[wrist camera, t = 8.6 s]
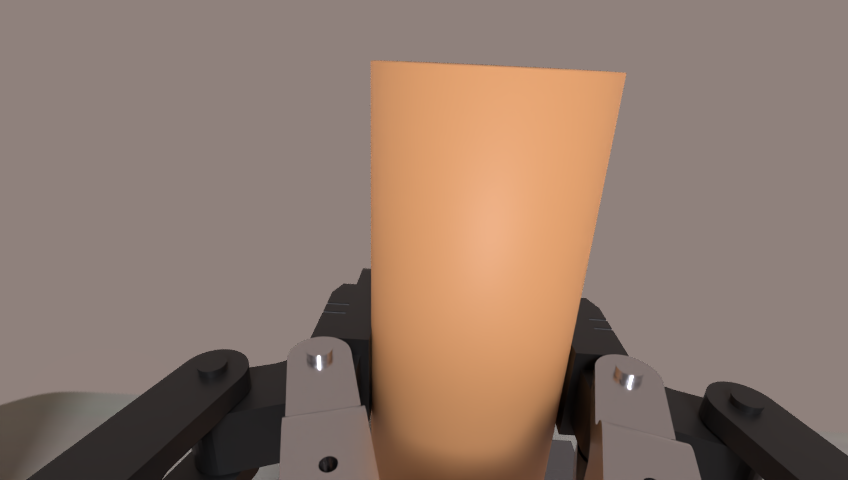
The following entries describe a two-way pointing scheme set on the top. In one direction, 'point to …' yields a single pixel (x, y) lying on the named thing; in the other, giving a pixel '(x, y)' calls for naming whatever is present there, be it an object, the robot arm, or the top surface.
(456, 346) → the post
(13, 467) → the top surface
